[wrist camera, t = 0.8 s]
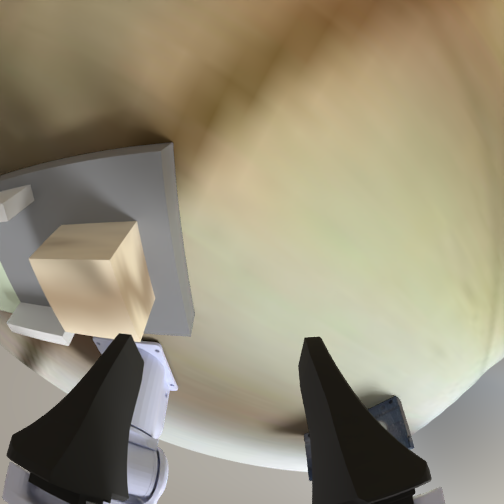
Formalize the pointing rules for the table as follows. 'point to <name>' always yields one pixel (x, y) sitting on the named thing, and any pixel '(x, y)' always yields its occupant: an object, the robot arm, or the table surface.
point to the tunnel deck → (94, 211)
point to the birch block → (96, 278)
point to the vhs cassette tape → (388, 417)
